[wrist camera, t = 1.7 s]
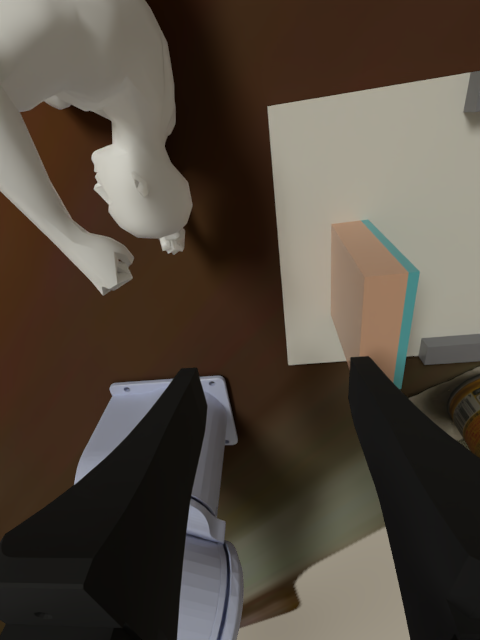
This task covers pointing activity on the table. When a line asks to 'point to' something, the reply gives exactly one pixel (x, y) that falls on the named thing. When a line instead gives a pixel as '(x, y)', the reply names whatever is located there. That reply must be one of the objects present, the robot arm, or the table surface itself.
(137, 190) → the person figurine
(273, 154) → the board
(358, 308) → the tile
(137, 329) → the table surface
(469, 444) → the condiment
